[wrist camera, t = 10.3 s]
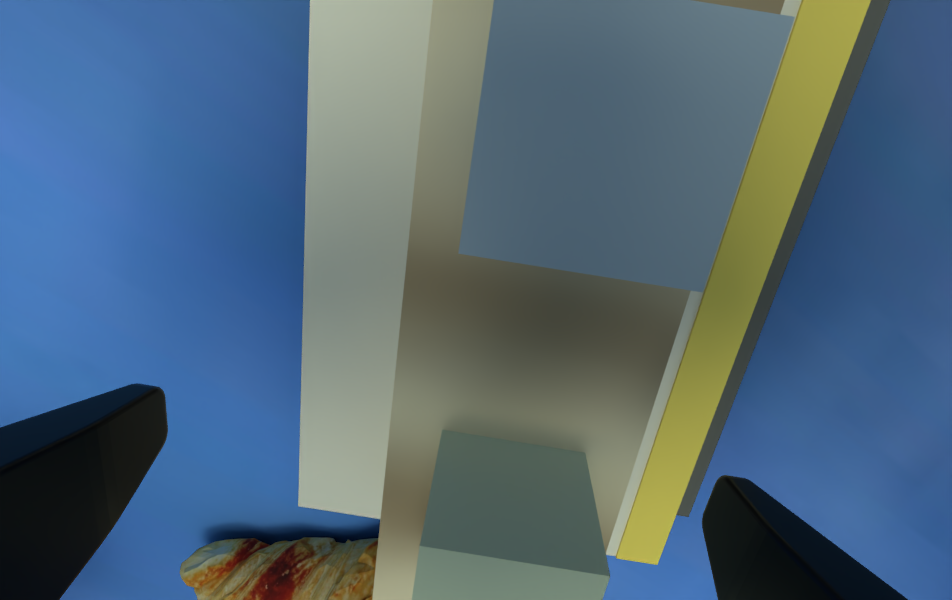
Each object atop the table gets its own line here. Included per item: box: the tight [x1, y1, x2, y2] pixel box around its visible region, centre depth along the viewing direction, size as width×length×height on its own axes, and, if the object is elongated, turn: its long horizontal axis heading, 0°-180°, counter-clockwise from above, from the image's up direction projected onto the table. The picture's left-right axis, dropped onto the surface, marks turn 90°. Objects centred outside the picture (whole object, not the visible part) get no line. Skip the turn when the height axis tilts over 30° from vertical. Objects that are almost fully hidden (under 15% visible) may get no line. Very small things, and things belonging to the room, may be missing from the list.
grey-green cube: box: [412, 430, 610, 600], centre depth 12 cm, size 4×4×4 cm
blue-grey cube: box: [458, 0, 795, 292], centre depth 9 cm, size 4×4×4 cm
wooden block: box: [372, 0, 785, 600], centre depth 14 cm, size 20×6×5 cm, turn 172°
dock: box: [298, 0, 890, 565], centre depth 18 cm, size 24×15×3 cm, turn 172°
